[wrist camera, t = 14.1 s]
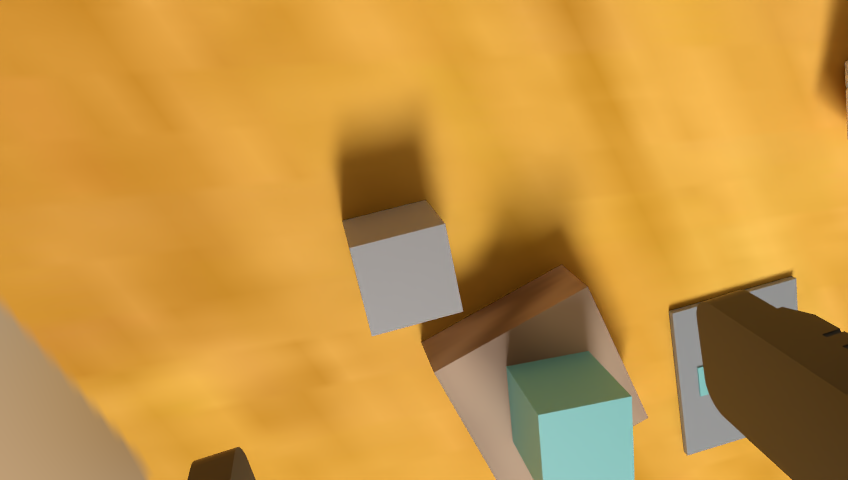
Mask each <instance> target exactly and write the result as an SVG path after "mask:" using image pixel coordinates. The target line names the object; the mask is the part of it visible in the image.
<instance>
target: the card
mask: <svg viewBox="0 0 848 480" xmlns="http://www.w3.org/2000/svg"><path fill="white" fill-rule="evenodd" d="M745 290H746V291H748V292H750V293H752V294H753V295H755V296H757V297H758V298H760V299H762V300H764V301H765V302H767V303H769V304H770V305H772V306H774V307H776V308H780V307H786V308H789V309H793V310H797V287H796V278H794V277H792V276H791V277H788V278H784V279H781V280H777V281H774V282H770V283H767V284H763V285H759V286H756V287H752V288H749V289H745ZM699 303H700V302H699ZM699 303H696V304H692V305H689V306H685V307H682V308H678V309H675V310H671V311H669V316H670V325H671V335H672V344H673V353H674V362H675V372H676V381H677V390H678V399H679V409H680V418H681V427H682V436H683V446H684V452H685V453H686V454H687V455H690V454H694V453H697V452H700V451H703V450H707V449H710V448H713V447H716V446H720V445H723V444H726V443H729V442H733V441H736V440H739V439H742V438H746V437H745V436H744V435H743V434H742V433H741V432H740V431H739V430H737V429H736V428H735V427H734V426H733V425H732V424H731V423H730V422H729V421H728V420H727V419H725V418H724V417H723V416H722V415H721V413H720V412H719V411H718V410H717V408H716V407H715V405H714V403H713V401H712V399H711V397H710V395H709V393H708V390H707V387H706V383H705V377H704V369H703V362H702V354H701V347H700V340H699V332H698V325H697V316H696V311H697V306H698V304H699ZM797 311H798V310H797Z"/></svg>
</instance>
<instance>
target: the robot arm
mask: <svg viewBox="0 0 848 480" xmlns="http://www.w3.org/2000/svg"><path fill="white" fill-rule="evenodd" d="M696 316H697V325H698V332H699V340H700V347H701V354H702V362H703V369H704V377H705V383H706V387H707V390H708V393H709V395H710V397H711V399H712V401H713V403H714V405H715V407H716V408H717V410H718V411H719V412H720V413H721V415H722V416H723V417H724V418H725V419H727V420H728V421H729V422H730V423H731V424H732V425H733V426H734V427H735V428H736V429H737V430H739V431H740V432H741V433H742V434H743V435H744V436H745V437H746V438H747V439H748V440H749V441H751V442H752V443H753V444H754V445H755V446H756V447H757V448H758V449H759V450H760V451H762V452H763V453H764V454H765V455H766V456H767V457H768V458H769V459H770V460H771V461H772V462H774V463H775V464H776V465H777V466H778V467H779V468H780V469H781V470H782V471H783V472H785V473H786V474H787V475H788V476H789V477H790V478H791V479H792V480H848V333H847V332H845V331H844V332H841V331H840V329H839V328H838V327H836V326H834V325H832V324H830V323H829V322H827V321H825V320H823V319H821V318H820V317H818V316H816V315H813V314H809V313H805V312H801V311H797V310H793V309H789V308H786V307H780V308H776V307H774V306H772V305H770V304H769V303H767V302H765V301H764V300H762V299H760V298H758V297H757V296H755V295H753V294H752V293H750V292H748V291H746V290H737V291H734V292H731V293H728V294H725V295H722V296H718V297H715V298H712V299H709V300H706V301H703V302H700V303H699V304H698V306H697V311H696ZM188 480H255V477H254V475H253V472H252V470H251V467H250V465H249V462H248V460H247V457H246V455H245V453H244V452H243V450H242V449H241V448H240V447H237V448H233V449H230V450H227V451H224V452H221V453H218V454H214V455H211V456H208V457H205V458H202V459H199V460H195V461H194V462H193V463H192V465H191V468H190V472H189V476H188Z"/></svg>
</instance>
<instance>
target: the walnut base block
mask: <svg viewBox="0 0 848 480" xmlns="http://www.w3.org/2000/svg"><path fill="white" fill-rule="evenodd" d="M421 343H422V345H423V347H424V350H425V352H426V355H427V357H428V359H429V362H430V364H431V367H432V369H433V371H434V373H435V375H436V377H437V379H438V380H439V382H440V384H441V385H442V387H443V389H444V391H445V392H446V394H447V396H448V397H449V399H450V401H451V403H452V404H453V406H454V408H455V409H456V411H457V413H458V415H459V416H460V418H461V420H462V421H463V423H464V425H465V427H466V428H467V430H468V432H469V434H470V435H471V437H472V439H473V440H474V442H475V444H476V446H477V447H478V449H479V451H480V452H481V454H482V456H483V458H484V459H485V461H486V463H487V464H488V466H489V468H490V470H491V471H492V473H493V475H494V477H495V478H496V480H533V478H532V476H531V474H530V472H529V470H528V469H527V467H526V465H525V463H524V461H523V459H522V457H521V456H520V454H519V452H518V450H517V448H516V446H515V445H514V443H513V437H512V426H511V414H510V403H509V392H508V381H507V369H506V366H512V365H517V364H522V363H527V362H532V361H538V360H543V359H548V358H554V357H559V356H564V355H569V354H575V353H580V352H585V351H589V352H590V353H591V354H592V355H593V356H594V357H595V358H596V359H597V360H598V362H599V363H600V364H601V365H602V366H603V367H604V368H605V369H606V370H607V371H608V372H609V373H610V374H611V375H612V376H613V377H614V378H615V379H616V380H617V381H618V382H619V384H620V385H621V386H622V387H623V388H624V389H625V390H626V391H627V392H628V393H629V394H630V395H631V396H632V419H633V426H634V425H636V424H638V423H640V422H641V421H643V420H645V419H647V418H648V416H647V414H646V412H645V410H644V408H643V405H642V403H641V401H640V399H639V397H638V395H637V392H636V390H635V388H634V386H633V384H632V382H631V379H630V377H629V375H628V373H627V371H626V369H625V366H624V364H623V362H622V360H621V358H620V356H619V353H618V351H617V349H616V347H615V345H614V343H613V340H612V338H611V336H610V334H609V332H608V330H607V327H606V325H605V323H604V321H603V319H602V317H601V314H600V312H599V310H598V308H597V306H596V304H595V301H594V299H593V297H592V295H591V293H590V291H589V288H588V286H586V285H585V284H584V283H583V282H582V281H580V280H579V279H578V278H577V277H576V276H575V275H573V274H572V273H571V272H570V271H569V270H567V269H566V268H565V267H564V266H563V265H560V266H558V267H556V268H554V269H553V270H551V271H549V272H547V273H545V274H544V275H542V276H540V277H538V278H536V279H535V280H533V281H531V282H529V283H527V284H526V285H524V286H522V287H520V288H519V289H517V290H515V291H513V292H511V293H510V294H508V295H506V296H504V297H502V298H501V299H499V300H497V301H495V302H493V303H492V304H490V305H488V306H486V307H484V308H483V309H481V310H479V311H477V312H475V313H474V314H472V315H470V316H468V317H466V318H465V319H463V320H461V321H459V322H457V323H456V324H454V325H452V326H450V327H448V328H447V329H445V330H443V331H441V332H439V333H438V334H436V335H434V336H432V337H430V338H429V339H427V340H425V341H423V342H421Z"/></svg>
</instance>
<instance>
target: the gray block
mask: <svg viewBox="0 0 848 480" xmlns="http://www.w3.org/2000/svg"><path fill="white" fill-rule="evenodd" d="M342 222H343V226H344V229H345V233H346V237H347V241H348V245H349V249H350V253H351V257H352V261H353V264H354V268H355V272H356V276H357V280H358V284H359V288H360V292H361V296H362V300H363V303H364V307H365V311H366V315H367V319H368V323H369V327H370V330H371V334H372V336H375V335H379V334H382V333H386V332H390V331H393V330H397V329H401V328H404V327H408V326H412V325H416V324H419V323H423V322H427V321H430V320H434V319H438V318H441V317H445V316H449V315H453V314H456V313H460V312H463V308H462V303H461V299H460V294H459V289H458V284H457V279H456V274H455V270H454V265H453V260H452V255H451V250H450V246H449V241H448V236H447V231H446V226H445V223H444V222H443V221H442V219H441V218H440V217H439V216H438V214H437V213H436V212H435V211H434V210H433V208H432V207H431V206H430V205H429V203H428V202H427V201H426V200H423V201H419V202H415V203H411V204H407V205H403V206H399V207H395V208H391V209H387V210H383V211H379V212H375V213H371V214H367V215H363V216H359V217H355V218H351V219H347V220H343V221H342Z"/></svg>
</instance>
